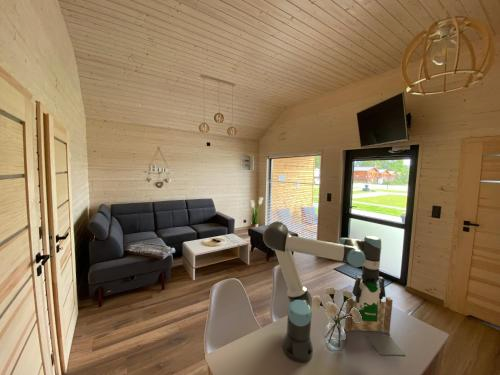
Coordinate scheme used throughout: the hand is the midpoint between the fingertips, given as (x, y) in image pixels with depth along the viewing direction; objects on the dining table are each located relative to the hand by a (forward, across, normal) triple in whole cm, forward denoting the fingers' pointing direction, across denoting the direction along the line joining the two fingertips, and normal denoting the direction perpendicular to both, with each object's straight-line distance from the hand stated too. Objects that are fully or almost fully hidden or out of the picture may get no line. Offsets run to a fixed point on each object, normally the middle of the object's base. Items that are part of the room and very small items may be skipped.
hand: (367, 308), depth 111 cm
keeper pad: (+22, +12, +2) cm, 25 cm away
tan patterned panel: (+22, +8, +12) cm, 26 cm away
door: (+21, +7, +11) cm, 25 cm away
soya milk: (+5, 0, 0) cm, 5 cm away
